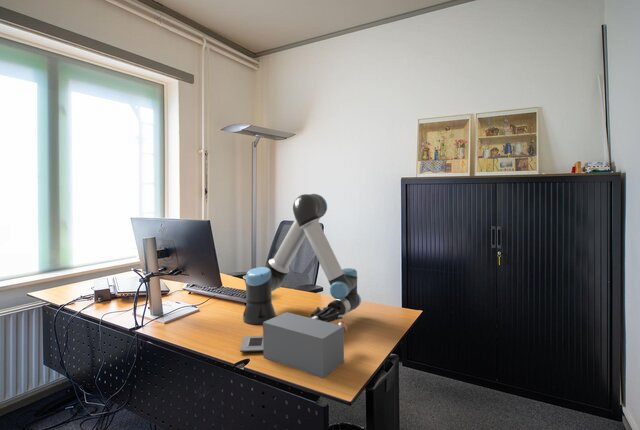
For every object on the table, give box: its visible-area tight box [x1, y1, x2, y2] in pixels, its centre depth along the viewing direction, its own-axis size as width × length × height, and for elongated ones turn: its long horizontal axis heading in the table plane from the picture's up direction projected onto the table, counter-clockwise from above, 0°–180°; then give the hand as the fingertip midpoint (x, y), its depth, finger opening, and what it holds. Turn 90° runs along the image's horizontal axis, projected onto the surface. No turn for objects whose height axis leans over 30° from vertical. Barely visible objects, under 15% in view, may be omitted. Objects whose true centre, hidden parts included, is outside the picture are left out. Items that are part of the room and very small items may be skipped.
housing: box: [262, 311, 345, 379], centre depth 127 cm, size 13×26×13 cm, turn 55°
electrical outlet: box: [239, 334, 264, 353], centre depth 139 cm, size 13×10×2 cm
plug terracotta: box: [336, 321, 349, 335], centre depth 131 cm, size 12×4×4 cm, turn 145°
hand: (307, 324), depth 140 cm, fingers closed
